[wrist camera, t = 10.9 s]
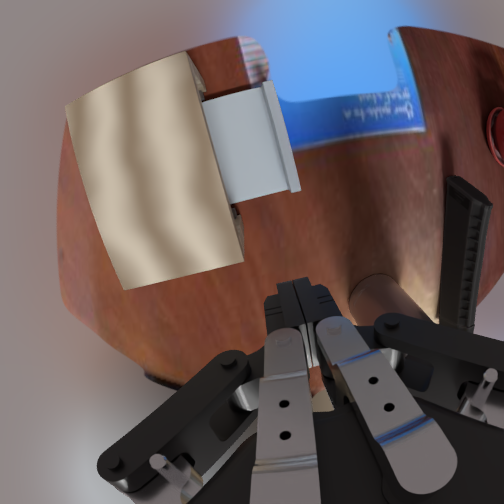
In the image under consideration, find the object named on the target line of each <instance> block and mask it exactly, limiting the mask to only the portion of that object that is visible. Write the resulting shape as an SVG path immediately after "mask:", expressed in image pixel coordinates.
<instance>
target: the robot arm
mask: <svg viewBox="0 0 504 504" xmlns="http://www.w3.org/2000/svg"><path fill="white" fill-rule="evenodd" d="M292 282H293V284H292ZM276 285H277V289H278V294H276V295H272V296H267V298H266V300H265V302H264V310H265V318H266V327H267V337H266V339H265V345H264V346H263V347H262V348H261V349H259V350H258V351H256V352H254V353H252V354H249V355H247V356H246V354H245V353H244V352H242V351H239V350H229V351H225V352H222V353H220V354H219V355H217V356H216V357H215V358H214V359H212V360H211V361H210V362H209V363H208V364H207V365H206V366H205V367H204V368H203V369H201V370H200V371H199V372H198V373H197V374H196V375H195V376H194V377H193V378H192V379H190V380H189V381H188V382H187V383H186V384H185V385H184V386H183V387H181V388H180V389H179V390H178V391H177V392H176V393H175V394H173V395H172V396H171V397H170V398H169V399H168V400H167V401H165V402H164V403H163V404H162V405H161V406H160V407H158V408H157V409H156V410H155V411H154V412H152V413H151V414H150V415H149V416H148V417H146V418H145V419H144V420H143V421H142V422H141V423H139V424H138V425H137V426H136V427H134V428H133V429H132V430H131V431H130V432H128V433H127V434H126V435H125V436H123V437H122V438H121V439H120V440H118V441H117V442H116V443H114V444H113V445H112V446H111V447H109V448H108V449H107V450H106V451H104V452H103V453H102V454H101V455H100V457H99V459H98V462H97V471H98V473H99V475H100V476H101V477H102V478H103V479H105V480H106V481H107V482H109V483H110V484H111V485H113V486H114V487H115V488H116V489H117V490H119V491H120V492H122V493H123V494H125V495H126V496H128V497H129V498H131V500H133V502H134V503H135V504H504V341H500V340H496V339H492V338H488V337H484V336H480V335H477V334H473V333H469V332H465V331H462V330H458V329H454V328H451V327H447V326H443V325H439V324H436V323H434V322H433V321H432V320H431V319H430V318H429V317H428V316H427V315H426V313H425V312H424V311H423V310H422V309H421V308H420V307H419V306H418V305H417V304H416V303H415V302H414V301H413V299H412V298H411V297H410V296H409V295H408V294H407V293H406V292H405V291H404V290H403V289H402V288H401V287H400V286H399V285H398V284H397V283H396V282H395V281H394V280H393V279H392V278H391V277H390V276H387V275H384V274H377V275H372V276H369V277H368V278H366V279H364V280H363V281H362V282H360V283H359V284H358V285H357V286H356V288H355V289H354V291H353V292H352V294H351V297H350V301H349V309H350V313H351V314H352V316H353V318H354V319H355V321H356V323H357V325H358V326H356V325H353V324H352V322H351V321H350V320H349V319H347V318H345V317H343V316H342V314H341V312H340V310H339V309H338V307H337V305H336V303H335V301H334V299H333V297H332V296H331V294H330V292H329V290H328V288H326V287H324V286H323V285H321V284H319V285H315V286H311V283H310V281H309V279H308V277H304V278H300V279H295V280H292V281H287V282H282V283H278V284H276ZM310 356H311V357H310ZM311 360H312V363H313V367H314V366H318V365H319V366H320V369H321V377H322V381H323V384H324V386H325V388H326V391H327V393H328V396H329V398H330V400H331V403H332V405H333V408H334V410H333V411H330V412H313V407H312V399H311V391H310V384H309V378H310V373H309V368H310V367H312V364H311ZM257 416H258V426H257V432H256V433H255V434H253V435H252V436H250V437H249V438H248V439H246V440H245V441H244V442H243V443H242V444H241V445H240V446H239V447H238V448H237V450H236V451H235V452H234V453H233V454H232V455H231V457H230V458H229V459H228V460H227V461H226V462H225V464H224V465H223V466H222V467H221V468H220V469H219V470H218V471H217V472H216V474H215V475H214V476H213V477H212V478H211V479H210V480H209V481H208V482H207V483H206V484H205V485H204V486H203V478H202V475H203V474H204V473H206V471H208V470H209V468H211V467H212V466H213V465H214V463H215V462H216V461H217V460H218V459H219V458H220V457H221V456H222V455H223V454H224V453H225V452H226V451H227V450H228V449H229V448H230V446H232V444H233V443H234V442H235V441H236V440H237V439H238V438H239V437H240V436H241V435H242V433H243V432H244V431H245V430H246V429H247V428H248V427H249V426H250V424H251V423H252V422H253V421H254V420H255V419H256V417H257Z"/></svg>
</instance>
